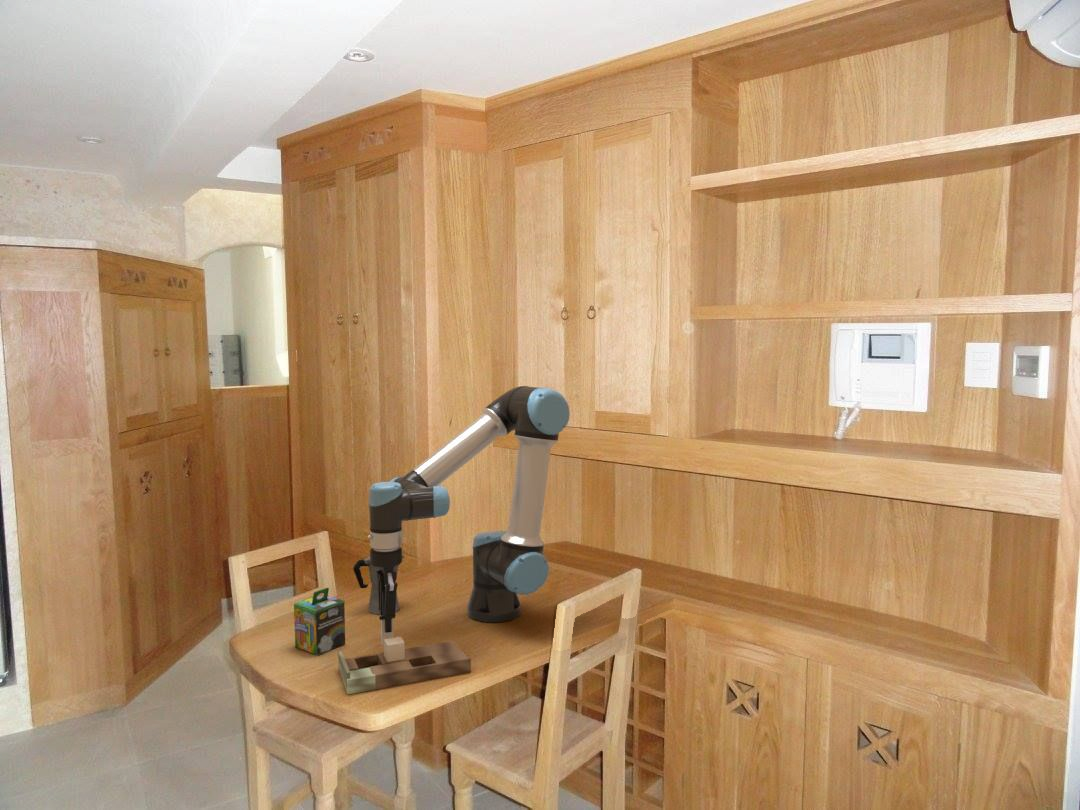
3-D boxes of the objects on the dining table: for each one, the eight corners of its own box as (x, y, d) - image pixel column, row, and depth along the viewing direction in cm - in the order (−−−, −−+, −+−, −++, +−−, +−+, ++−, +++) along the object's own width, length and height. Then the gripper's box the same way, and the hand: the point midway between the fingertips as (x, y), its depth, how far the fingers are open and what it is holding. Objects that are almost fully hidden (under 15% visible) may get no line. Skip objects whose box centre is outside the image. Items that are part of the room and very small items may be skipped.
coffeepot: (397, 600, 221) (396, 540, 219) (412, 609, 213) (411, 547, 212) (348, 611, 212) (346, 549, 210) (361, 621, 204) (360, 556, 203)
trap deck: (454, 650, 185) (453, 633, 184) (470, 671, 173) (470, 653, 172) (338, 670, 173) (338, 651, 173) (347, 694, 162) (347, 674, 161)
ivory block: (400, 652, 177) (400, 636, 177) (404, 659, 174) (404, 642, 173) (384, 655, 176) (383, 639, 175) (387, 662, 172) (387, 645, 172)
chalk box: (323, 635, 194) (322, 580, 193) (346, 644, 189) (345, 587, 187) (293, 647, 186) (291, 589, 185) (316, 656, 181) (315, 597, 180)
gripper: (365, 542, 182) (366, 636, 184) (375, 556, 170) (376, 656, 172) (395, 539, 185) (396, 631, 187) (407, 552, 173) (408, 651, 175)
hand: (387, 643), depth 180 cm, fingers closed
